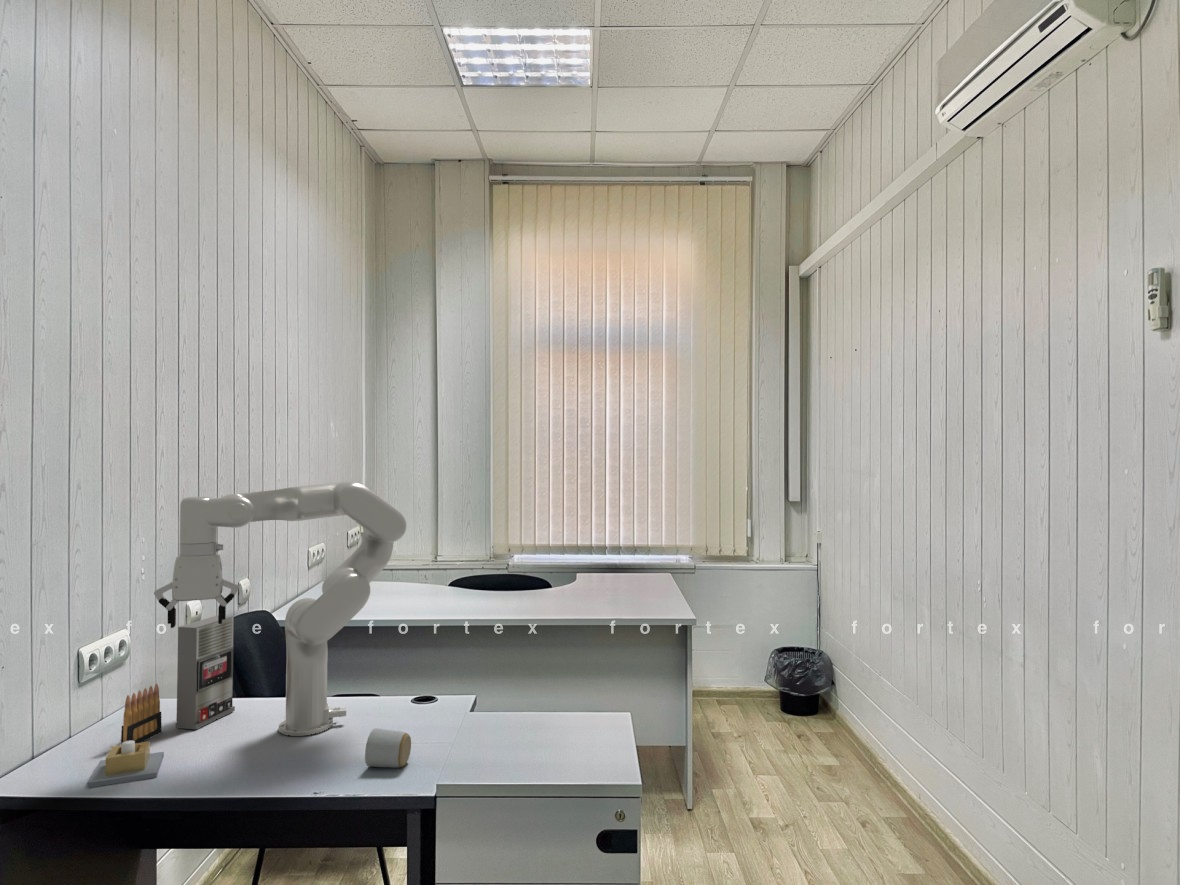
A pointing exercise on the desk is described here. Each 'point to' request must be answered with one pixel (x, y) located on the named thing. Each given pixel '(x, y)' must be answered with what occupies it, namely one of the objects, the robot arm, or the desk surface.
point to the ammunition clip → (142, 716)
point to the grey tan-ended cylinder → (387, 748)
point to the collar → (127, 759)
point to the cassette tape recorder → (204, 672)
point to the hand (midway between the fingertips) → (197, 624)
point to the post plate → (149, 772)
